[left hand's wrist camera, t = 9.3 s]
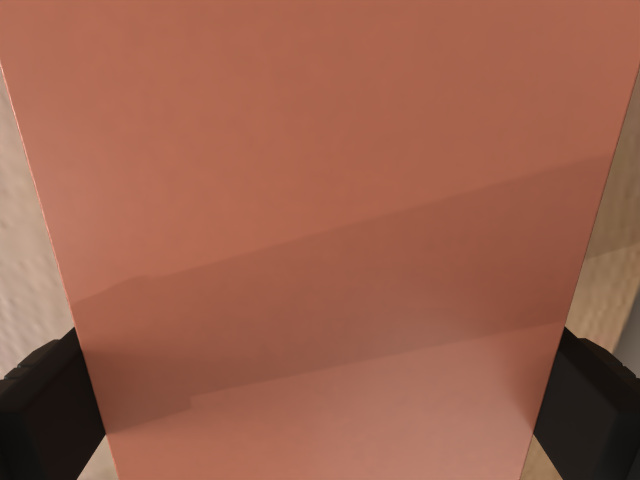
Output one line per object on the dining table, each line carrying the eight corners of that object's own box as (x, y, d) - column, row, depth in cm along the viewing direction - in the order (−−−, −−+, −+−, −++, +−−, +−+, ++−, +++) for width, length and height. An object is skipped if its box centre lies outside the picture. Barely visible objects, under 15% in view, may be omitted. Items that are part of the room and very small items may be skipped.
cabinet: (153, -127, 12) (-200, -612, 4) (486, -126, 12) (839, -605, 4) (209, 309, 18) (118, 483, 10) (429, 309, 18) (520, 483, 10)
